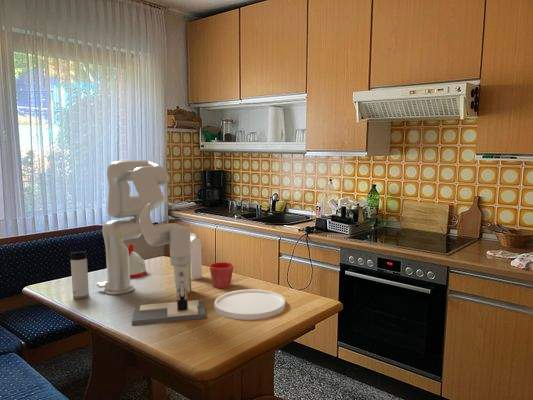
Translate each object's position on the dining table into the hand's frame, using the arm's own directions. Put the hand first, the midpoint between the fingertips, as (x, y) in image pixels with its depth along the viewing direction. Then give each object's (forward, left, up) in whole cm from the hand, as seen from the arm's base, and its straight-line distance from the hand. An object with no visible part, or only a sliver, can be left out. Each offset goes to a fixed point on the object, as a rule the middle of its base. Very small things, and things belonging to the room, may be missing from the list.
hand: (182, 307), depth 158 cm
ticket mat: (-5, +4, -3) cm, 7 cm away
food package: (+1, +23, -4) cm, 23 cm away
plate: (+26, +5, -4) cm, 27 cm away
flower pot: (+18, +33, -4) cm, 37 cm away
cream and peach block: (0, 0, -2) cm, 2 cm away
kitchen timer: (-24, +63, -4) cm, 67 cm away
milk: (+6, +49, -3) cm, 49 cm away
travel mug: (-42, +33, -3) cm, 53 cm away
